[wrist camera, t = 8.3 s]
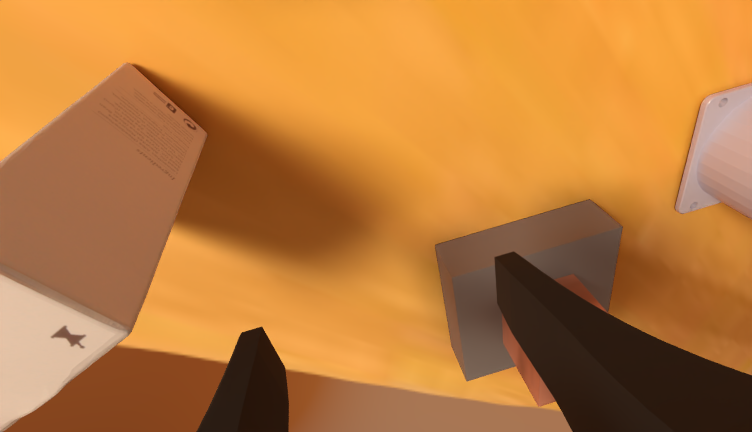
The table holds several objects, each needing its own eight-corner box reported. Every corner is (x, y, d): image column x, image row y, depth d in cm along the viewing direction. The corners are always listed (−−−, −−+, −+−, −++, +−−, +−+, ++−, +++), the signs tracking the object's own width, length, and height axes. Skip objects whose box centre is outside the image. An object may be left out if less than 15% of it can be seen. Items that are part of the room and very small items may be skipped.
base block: (589, 199, 26) (622, 226, 23) (578, 307, 32) (603, 338, 29) (434, 245, 25) (451, 277, 23) (451, 346, 31) (466, 381, 29)
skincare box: (126, 56, 17) (-85, 220, 7) (210, 132, 19) (141, 336, 9) (31, 148, 18) (-264, 400, 8) (121, 210, 20) (-24, 463, 10)
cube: (573, 273, 25) (625, 332, 21) (568, 323, 27) (613, 383, 24) (501, 295, 25) (540, 358, 21) (503, 343, 27) (538, 406, 23)
